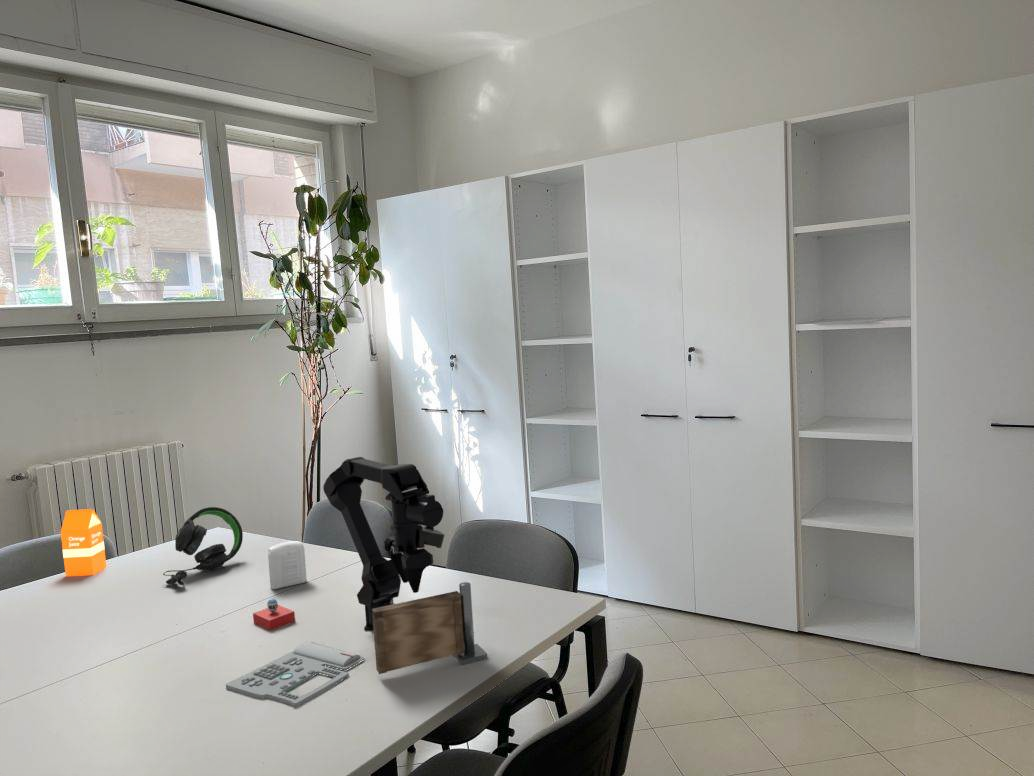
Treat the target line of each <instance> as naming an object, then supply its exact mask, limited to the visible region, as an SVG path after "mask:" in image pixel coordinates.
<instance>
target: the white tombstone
mask: <svg viewBox="0 0 1034 776" xmlns="http://www.w3.org/2000/svg"><path fill="white" fill-rule="evenodd" d="M267 552H268V553H267V560H268V561H267V562H268V573H269V583H270V584H269V585H270V589H271V590H278V589H281V588H286V587H291V586H294V585H295V586H296V585H299V584H300V585H301V584H303V583H306V582H307V578H308V577H307V568H306V567H307V565H306V554H305V553H306V552H305V547H304V543H303V542H302V541H297V540H296V541H295V540H294V541H293V540H291V541H289V540H288V541H283V542H280V543H277V544H274V545H272V546H270V548H268V551H267Z"/></svg>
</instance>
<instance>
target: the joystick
mask: <svg viewBox="0 0 1034 776" xmlns="http://www.w3.org/2000/svg"><path fill="white" fill-rule="evenodd" d="M266 605H267V606H266V607H267V608H264V609H261V610H259V611H258V610H257V611H256V612H255V611H254V612H253V613H252V617H253V618H252V619H253V624H255V625H257V626H260V627H262V628H264V629H266V630H268V631H269V632H270V631H273V630H276V629H279V628H281V627H284V626H286V625H289V623H290V624H292V623H295V622H296V616H295V615H296V614H295V611H294V610H292V609H289V608H286V607H284V606H282V605H279V604H278V601H277V599H276V598H275V597H272V598H270V599H269V600H268V601H267V604H266ZM294 621H295V622H294Z"/></svg>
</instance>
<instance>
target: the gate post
mask: <svg viewBox="0 0 1034 776" xmlns="http://www.w3.org/2000/svg"><path fill="white" fill-rule="evenodd" d="M458 586H459V587H458V588H459V593H460V594H461V609H462V624H463V639H464V653H463V654H459V655H457V654H456V655H452V656H453V658H456V659H457V660H458V661H457V660H456V659H455V660H456V661H457V662H458V663H459V664H460V665H461V666H464V665H467V664H469V663H470V664H471V663H475V662H478V661H482V660H487V659H489V658H488V657H489V656H488V653H487V651H485V650H484V649H483V648H482V647H481V646H480V645H479V644H478V643H475V633H474V619H473V605H472V604H473V602H472V587H471V586H472V585H471V583H470V582H468V581H467V582H460V583H459V585H458Z"/></svg>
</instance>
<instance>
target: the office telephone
mask: <svg viewBox="0 0 1034 776" xmlns="http://www.w3.org/2000/svg"><path fill="white" fill-rule="evenodd" d="M362 660H364V661H365V657H364V656H362V655H360V654H356V653H352V652H347V651H345V650H342V649H339V648H334V647H331V646H327V645H323V644H320V643H316V642H307V641H306V642H303V643H301V644H298V645H297V647H296V648H294V649H293V650H292V651H290V652H287V654H284V655H282V656H280V657H278V658H276V659H274V660H272V661H270V662H268V663H266V664H264V665H262V666H260V667H258V668H256V669H254V670H253V671H250V672H249V673H248V672H247V673H246V674H244V675H241V676H239V677H238V678H235V679H233V680H231V681H230V682H227V683H225V689H227V690H229V691H233V692H236V693H239V694H243V695H246V696H250V697H253V698H256V699H260V700H265V699H270V700H274V701H277V702H280V703H283V704H286V705H290V706H292V708H297V707H300V706H301V705H303V704H306V702H308V701H310V700H312V699H313V698H315V697H317V696H319V695H320V694H322V693H324V692H326V691H327V690H329V689H330V687H331V688H332V687H334V686H336V685H337V684H339V683H341V682H342V681H343V680H342V679H344V678H345V677H347V676H348V675H350V673H349V671H348V670H347V669H349V668H350V667H352V666H354V665H356V664H358V663H359V662H360V661H362ZM325 665H326V666H330V667H334V668H338V669H342V670H347V671H341V670H337V669H333V668H329V667H325ZM358 665H359V664H358ZM356 666H357V665H356ZM349 670H350V669H349ZM317 673H321V674H325V675H328V676H331V677H334V678H331V677H330V678H331V679H330V680H328V681H327V682H325V683H322V684H321V685H320V686H318V687H315V688H314V689H312V690H311V691H309V692H307V693H305V694H303V695H296V694H292V693H289V691H291V690H292V689H294V688H296V687H297V686H300V685H302V684H303V683H305V682H307V681H308V680H309V678H310V677H312V676H313V675H315V674H317ZM317 675H318V674H317ZM315 676H316V675H315ZM313 677H314V676H313ZM313 677H312V678H313ZM348 677H349V676H348ZM348 677H347V678H348ZM307 679H308V680H307ZM310 679H311V678H310ZM345 679H346V678H345ZM345 679H344V680H345ZM341 680H342V681H341ZM304 681H305V682H304ZM340 681H341V682H340ZM338 682H339V683H338ZM336 683H337V684H336ZM335 684H336V685H335ZM333 685H334V686H333ZM328 688H329V689H328Z"/></svg>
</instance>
